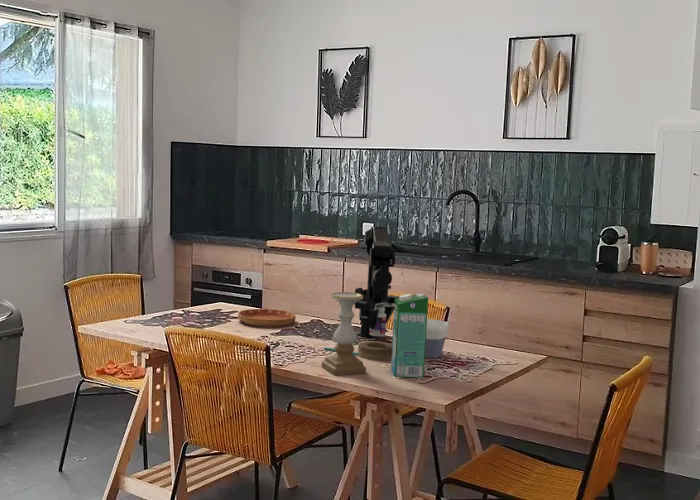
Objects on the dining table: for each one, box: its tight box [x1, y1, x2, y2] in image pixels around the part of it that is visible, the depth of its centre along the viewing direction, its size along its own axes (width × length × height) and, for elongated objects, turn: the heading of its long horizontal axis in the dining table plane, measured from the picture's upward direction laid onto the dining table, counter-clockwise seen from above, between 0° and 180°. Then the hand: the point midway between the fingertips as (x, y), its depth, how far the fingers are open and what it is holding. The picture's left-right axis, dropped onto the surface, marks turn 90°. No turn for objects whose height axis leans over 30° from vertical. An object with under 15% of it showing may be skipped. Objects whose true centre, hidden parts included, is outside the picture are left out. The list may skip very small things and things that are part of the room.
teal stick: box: [323, 347, 359, 356], centre depth 276 cm, size 14×1×1 cm, turn 63°
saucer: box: [237, 308, 297, 328], centre depth 321 cm, size 23×23×4 cm
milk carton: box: [390, 292, 429, 378], centre depth 252 cm, size 9×9×25 cm
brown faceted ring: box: [357, 340, 392, 361], centre depth 274 cm, size 12×12×4 cm
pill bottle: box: [370, 306, 387, 337], centre depth 273 cm, size 5×5×10 cm
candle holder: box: [321, 291, 367, 376], centre depth 252 cm, size 11×11×24 cm
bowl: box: [425, 318, 450, 360], centre depth 279 cm, size 15×15×11 cm
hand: (377, 327), depth 273 cm, fingers closed on pill bottle, 5 cm apart
